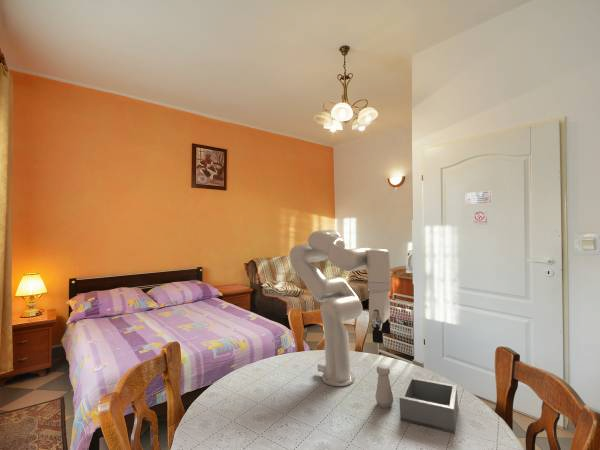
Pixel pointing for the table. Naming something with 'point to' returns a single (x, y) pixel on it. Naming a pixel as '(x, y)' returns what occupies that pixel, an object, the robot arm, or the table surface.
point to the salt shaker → (384, 387)
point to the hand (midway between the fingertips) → (382, 337)
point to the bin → (429, 404)
